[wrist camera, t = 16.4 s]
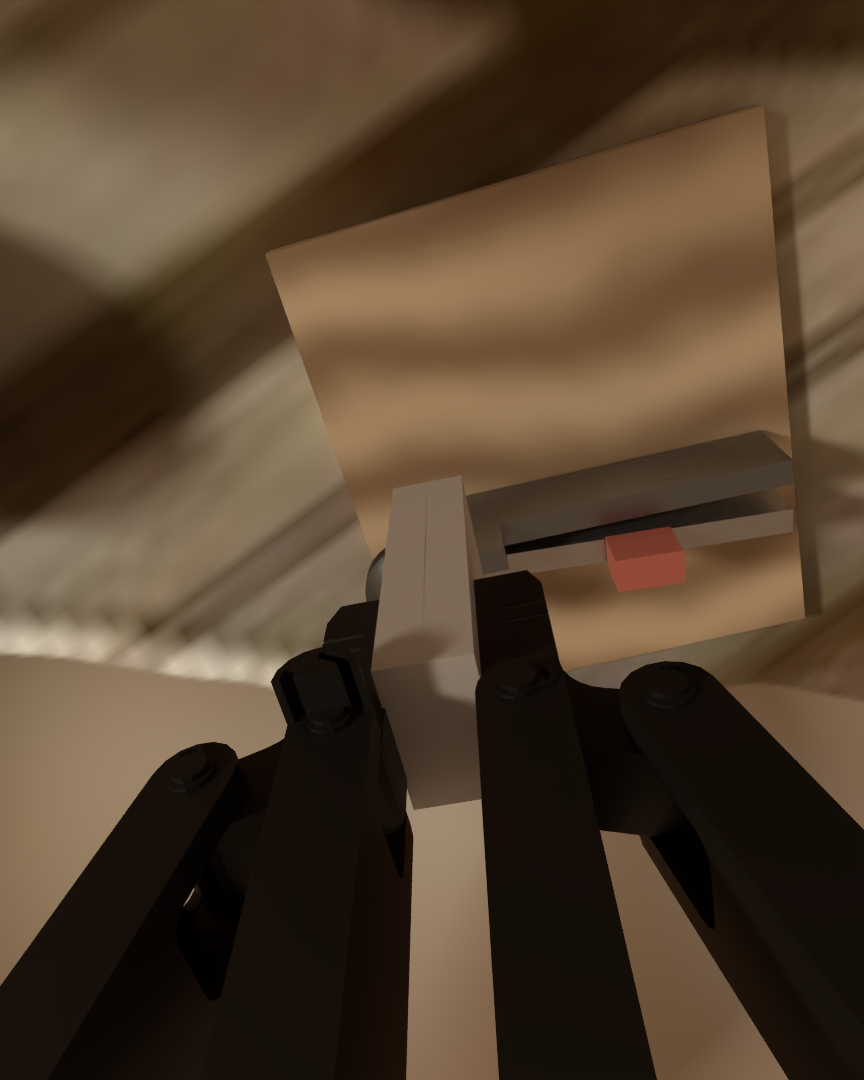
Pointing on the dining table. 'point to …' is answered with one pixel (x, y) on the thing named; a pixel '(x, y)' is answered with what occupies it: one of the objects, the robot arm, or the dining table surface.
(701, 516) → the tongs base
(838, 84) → the dining table surface
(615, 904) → the robot arm
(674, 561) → the tab
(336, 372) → the board
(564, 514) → the grey lever with knob
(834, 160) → the dining table surface
